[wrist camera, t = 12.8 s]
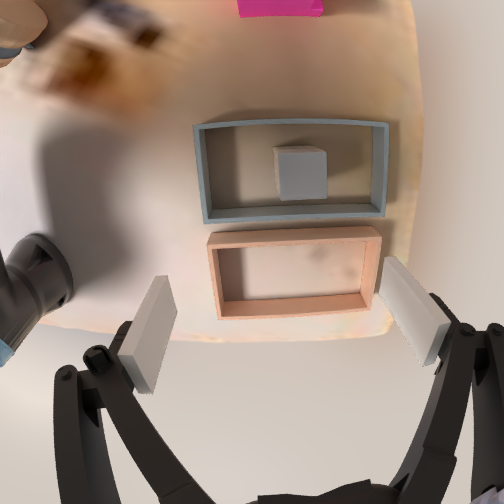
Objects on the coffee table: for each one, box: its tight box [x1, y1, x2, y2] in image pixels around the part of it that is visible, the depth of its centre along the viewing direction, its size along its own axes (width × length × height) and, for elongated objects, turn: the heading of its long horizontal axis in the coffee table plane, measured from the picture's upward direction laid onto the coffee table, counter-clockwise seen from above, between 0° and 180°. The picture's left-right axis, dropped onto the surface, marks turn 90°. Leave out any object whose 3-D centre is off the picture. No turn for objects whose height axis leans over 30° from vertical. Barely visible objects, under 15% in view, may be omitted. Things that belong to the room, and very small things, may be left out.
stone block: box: [273, 146, 327, 201], centre depth 32 cm, size 5×5×8 cm
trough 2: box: [207, 226, 382, 320], centre depth 40 cm, size 23×12×4 cm, turn 93°
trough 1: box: [193, 118, 389, 224], centre depth 34 cm, size 23×12×4 cm, turn 93°
